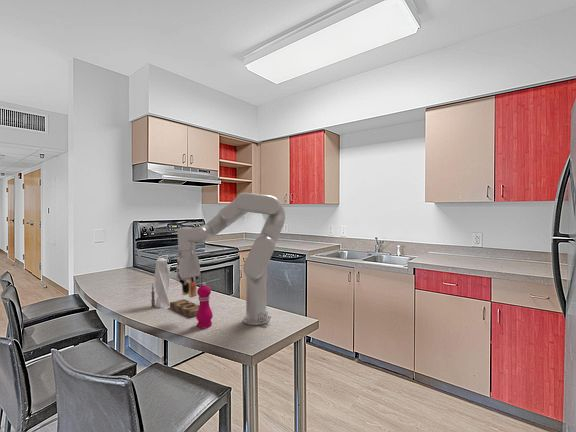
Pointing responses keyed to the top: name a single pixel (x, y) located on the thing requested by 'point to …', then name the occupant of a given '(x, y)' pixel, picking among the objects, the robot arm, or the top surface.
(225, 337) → the top surface
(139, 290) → the top surface
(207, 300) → the pepper mill
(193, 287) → the tan rectangular block
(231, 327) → the top surface
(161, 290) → the skyscraper
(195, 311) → the rail
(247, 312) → the robot arm
